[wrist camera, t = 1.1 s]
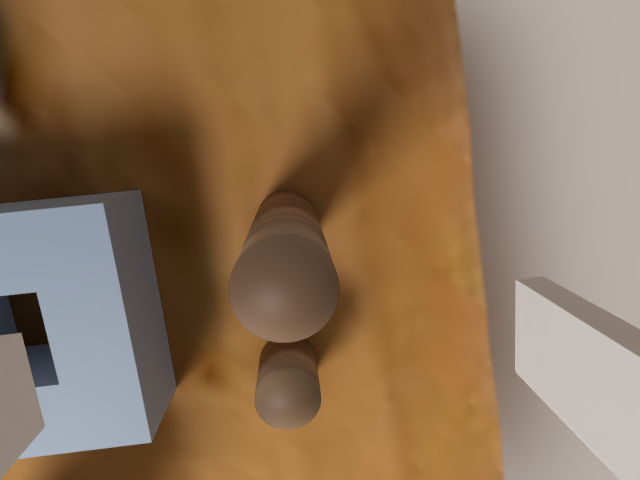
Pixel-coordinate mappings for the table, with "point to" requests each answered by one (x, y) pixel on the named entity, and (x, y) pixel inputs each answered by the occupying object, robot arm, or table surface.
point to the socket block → (89, 318)
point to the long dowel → (284, 272)
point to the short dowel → (287, 384)
